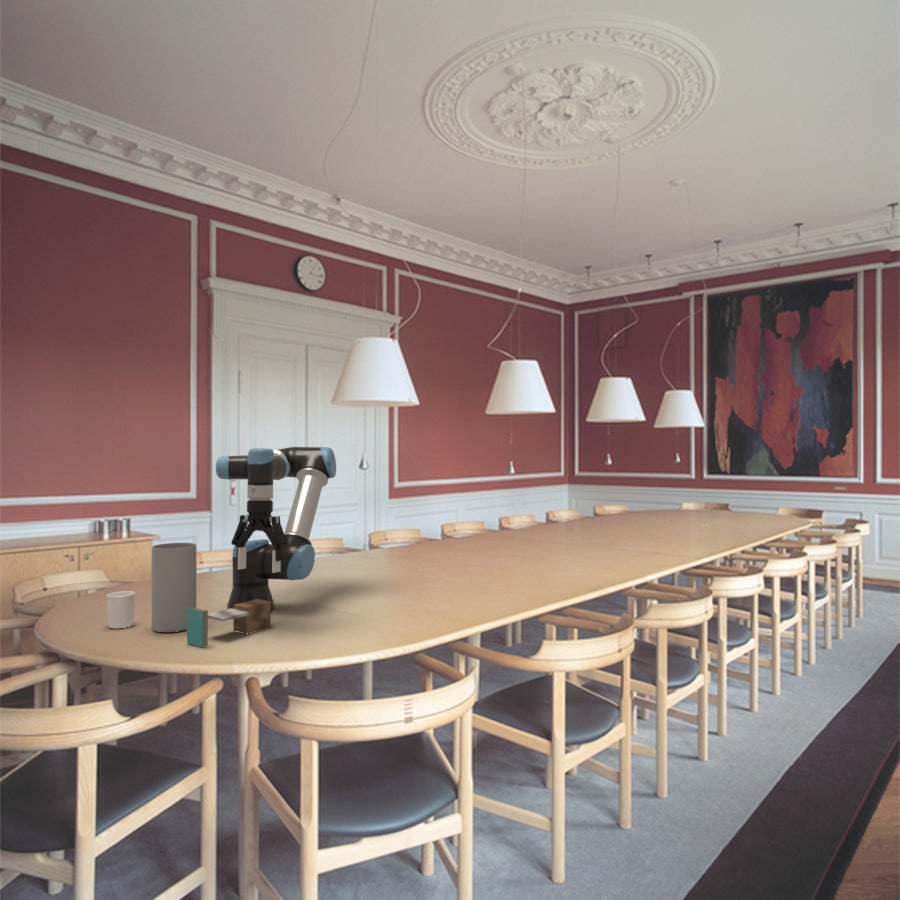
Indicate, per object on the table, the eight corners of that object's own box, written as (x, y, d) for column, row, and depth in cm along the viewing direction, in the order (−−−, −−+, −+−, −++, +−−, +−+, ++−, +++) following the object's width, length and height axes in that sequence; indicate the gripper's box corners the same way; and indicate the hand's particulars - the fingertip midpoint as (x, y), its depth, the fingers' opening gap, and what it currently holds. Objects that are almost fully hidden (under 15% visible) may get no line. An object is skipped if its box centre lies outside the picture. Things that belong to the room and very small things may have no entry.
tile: (186, 643, 182) (186, 608, 182) (191, 642, 184) (191, 606, 184) (202, 648, 178) (202, 611, 178) (207, 646, 180) (207, 610, 180)
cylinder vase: (165, 621, 205) (165, 542, 205) (203, 623, 204) (203, 543, 204) (143, 633, 193) (143, 548, 193) (183, 634, 192) (183, 549, 192)
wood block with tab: (255, 624, 203) (255, 598, 203) (272, 628, 198) (272, 601, 198) (205, 638, 188) (205, 610, 188) (223, 642, 183) (223, 614, 183)
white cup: (141, 623, 203) (141, 591, 203) (123, 630, 195) (123, 597, 195) (119, 622, 205) (119, 590, 205) (100, 629, 197) (100, 596, 197)
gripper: (220, 499, 199) (218, 569, 198) (283, 500, 188) (282, 575, 187) (238, 498, 206) (237, 566, 205) (300, 500, 195) (299, 571, 194)
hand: (258, 570), depth 196 cm, fingers open, 13 cm apart
